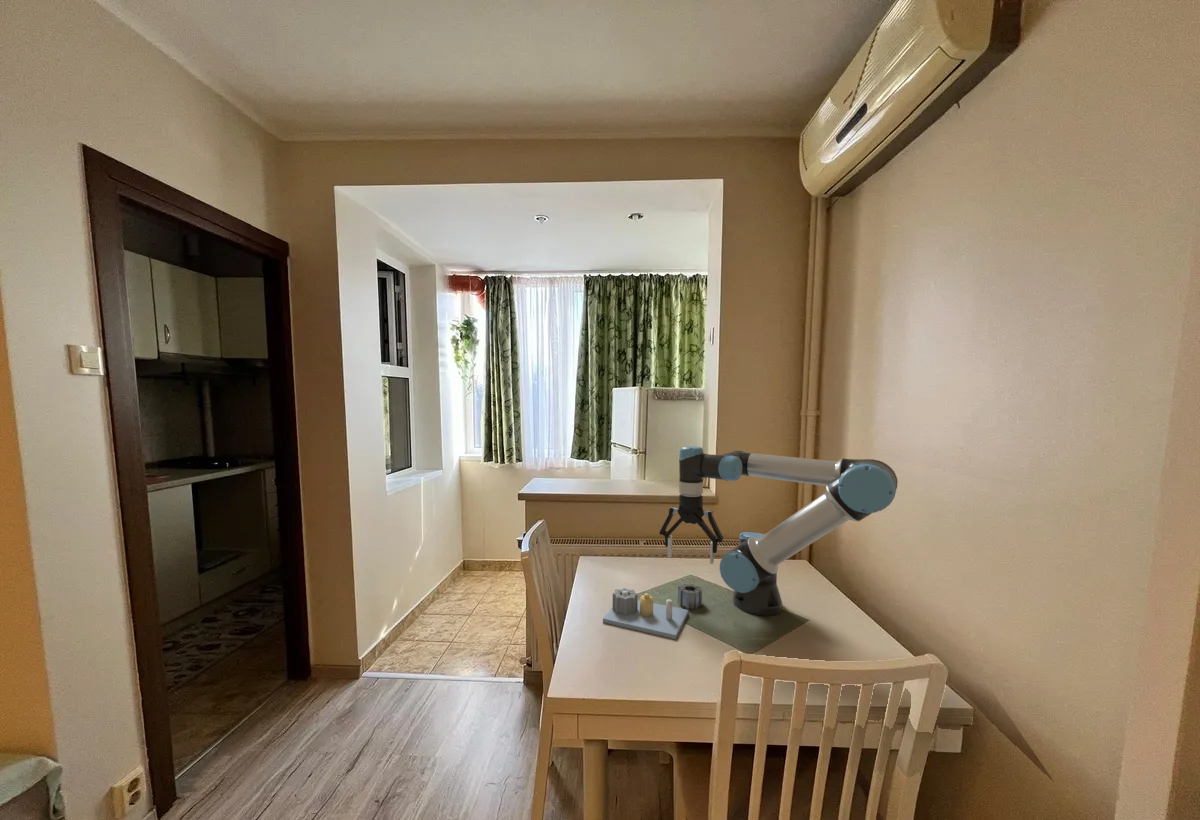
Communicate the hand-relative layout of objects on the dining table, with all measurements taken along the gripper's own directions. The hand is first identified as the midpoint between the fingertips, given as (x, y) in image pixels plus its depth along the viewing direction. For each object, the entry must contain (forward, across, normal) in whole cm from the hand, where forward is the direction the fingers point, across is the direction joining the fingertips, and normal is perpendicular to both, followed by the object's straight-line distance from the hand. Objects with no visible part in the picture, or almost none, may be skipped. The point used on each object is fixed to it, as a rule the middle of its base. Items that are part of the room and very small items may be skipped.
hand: (690, 559), depth 142 cm
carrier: (+14, +10, +15) cm, 23 cm away
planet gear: (+14, 0, 0) cm, 15 cm away
